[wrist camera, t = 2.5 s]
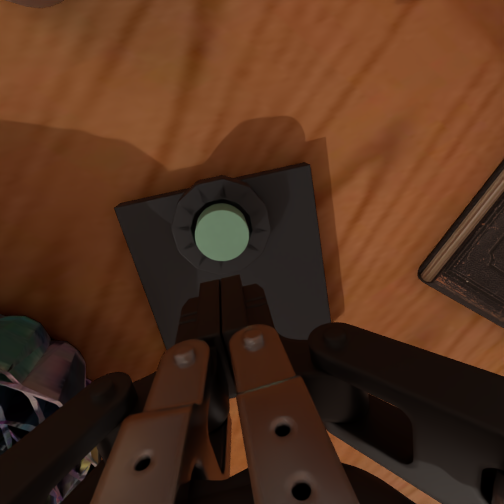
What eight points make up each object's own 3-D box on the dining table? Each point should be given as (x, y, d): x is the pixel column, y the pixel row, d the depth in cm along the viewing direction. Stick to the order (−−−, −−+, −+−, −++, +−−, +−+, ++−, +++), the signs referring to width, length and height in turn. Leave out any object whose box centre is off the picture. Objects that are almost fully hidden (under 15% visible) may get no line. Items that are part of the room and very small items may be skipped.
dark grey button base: (116, 195, 22) (102, 205, 19) (304, 153, 22) (316, 157, 20) (177, 363, 28) (173, 390, 25) (327, 328, 28) (340, 351, 25)
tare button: (190, 209, 20) (188, 216, 19) (240, 198, 20) (243, 204, 19) (203, 255, 21) (202, 266, 20) (251, 245, 22) (254, 254, 20)
